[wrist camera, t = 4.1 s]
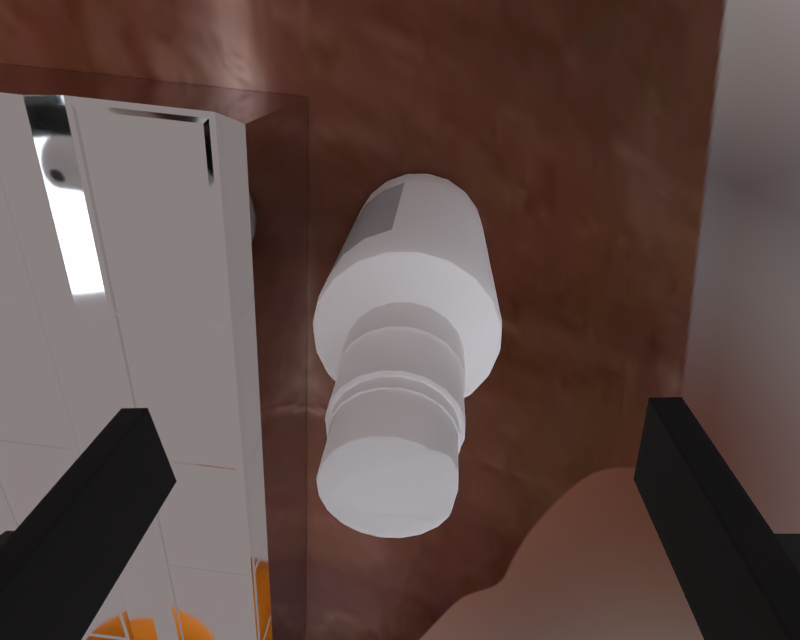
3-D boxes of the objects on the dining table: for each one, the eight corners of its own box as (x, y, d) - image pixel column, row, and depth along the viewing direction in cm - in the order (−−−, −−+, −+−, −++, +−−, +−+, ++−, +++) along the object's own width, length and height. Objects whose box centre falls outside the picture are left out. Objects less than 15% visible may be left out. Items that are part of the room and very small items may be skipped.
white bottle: (343, 184, 27) (200, 391, 11) (473, 160, 26) (521, 352, 10) (372, 299, 30) (292, 588, 14) (489, 282, 29) (543, 575, 13)
